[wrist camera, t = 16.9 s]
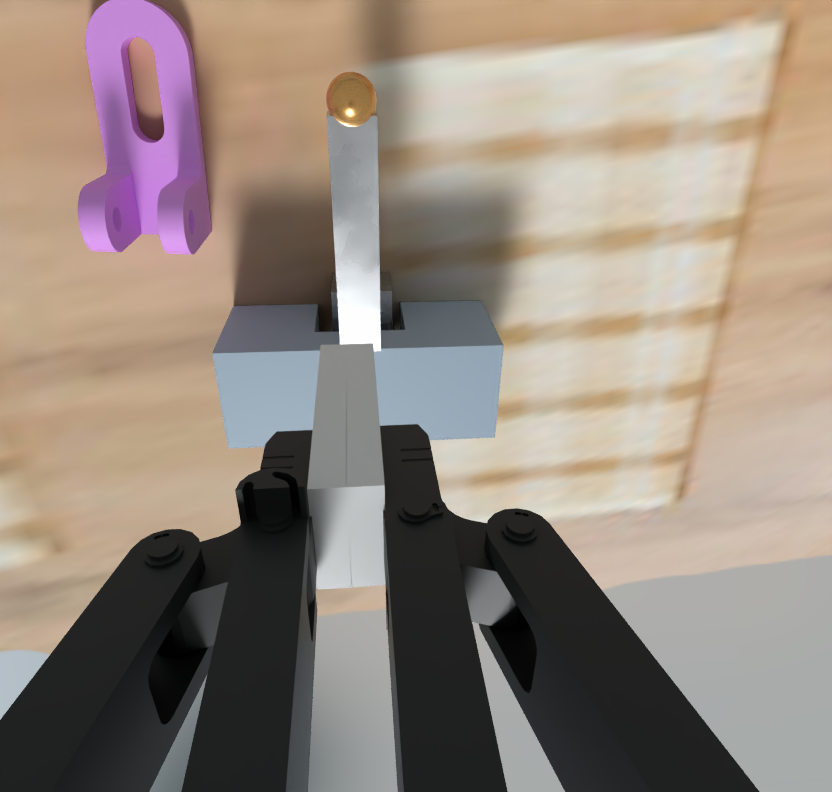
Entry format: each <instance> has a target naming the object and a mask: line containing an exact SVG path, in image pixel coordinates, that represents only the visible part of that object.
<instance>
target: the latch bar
mask: <svg viewBox="0 0 832 792" xmlns="http://www.w3.org/2000/svg"><path fill="white" fill-rule="evenodd" d="M326 101H327V107H328V110H329V111H328V112H327V127H328V144H329V161H330V179H331V196H332V213H333V230H334V248H335V265H336V282H337V299H338V316H339V334H340V344H367V343H373V348H374V351H381V322H380V254H379V186H378V118H377V111H375V110H376V105H377V96H376V92H375V89H374V87H373V85H372V84H371V82H370V81H369V80H368V79H367V78H366V77H364V76H363V75H361V74H359V73H355V72H345V73H342V74H340V75H338V76H337V77H336V78H335V79H334V80H333V81H332V82H331V83H330V85H329V87H328V90H327V96H326Z"/></svg>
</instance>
